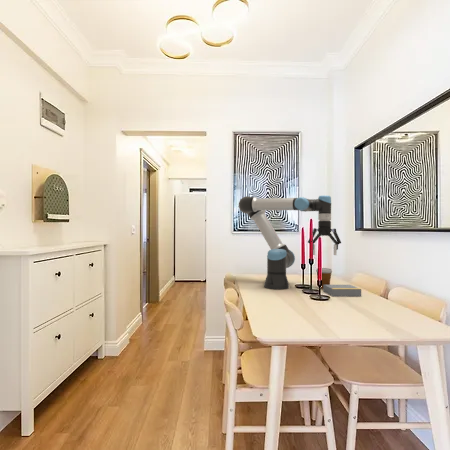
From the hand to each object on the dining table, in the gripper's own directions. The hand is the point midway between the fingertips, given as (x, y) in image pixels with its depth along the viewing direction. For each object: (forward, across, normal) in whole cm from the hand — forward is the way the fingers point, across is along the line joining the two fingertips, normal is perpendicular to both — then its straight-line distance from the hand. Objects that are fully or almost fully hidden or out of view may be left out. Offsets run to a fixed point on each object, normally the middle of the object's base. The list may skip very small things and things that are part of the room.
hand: (324, 255), depth 203 cm
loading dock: (+20, +4, -17) cm, 27 cm away
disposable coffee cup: (+21, 0, 0) cm, 21 cm away
